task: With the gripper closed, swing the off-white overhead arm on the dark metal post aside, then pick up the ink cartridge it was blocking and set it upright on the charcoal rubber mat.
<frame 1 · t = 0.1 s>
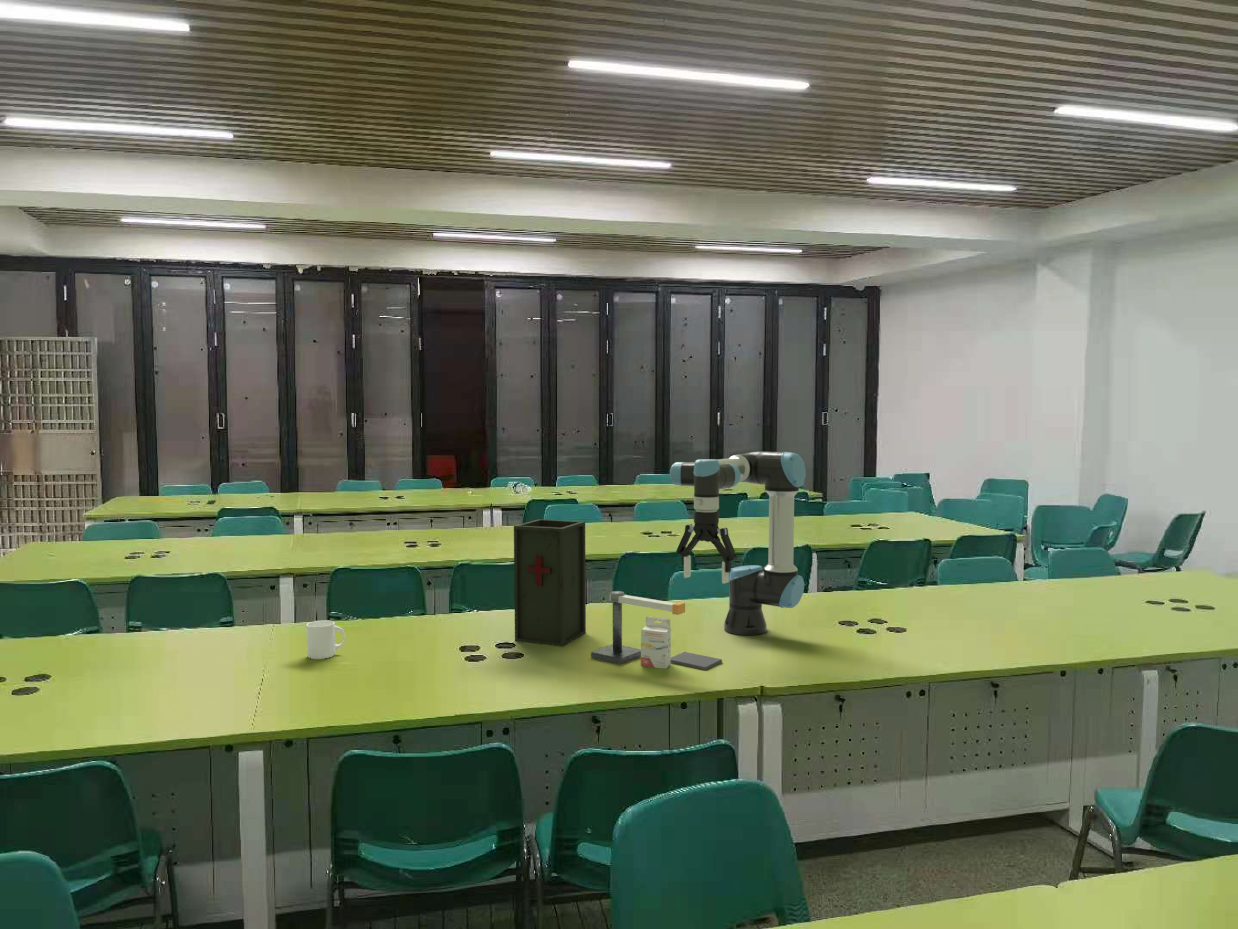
hand: (706, 580, 261), 28 cm above the table, fingers open, 13 cm apart
ink cartridge box: (655, 666, 268), on the table
arm post: (617, 657, 277), on the table
mug: (326, 656, 280), on the table
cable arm: (645, 602, 269), point 19 cm above the table, hinge at 0.0°
rubber mat: (694, 662, 271), on the table
first aid box: (550, 637, 301), on the table
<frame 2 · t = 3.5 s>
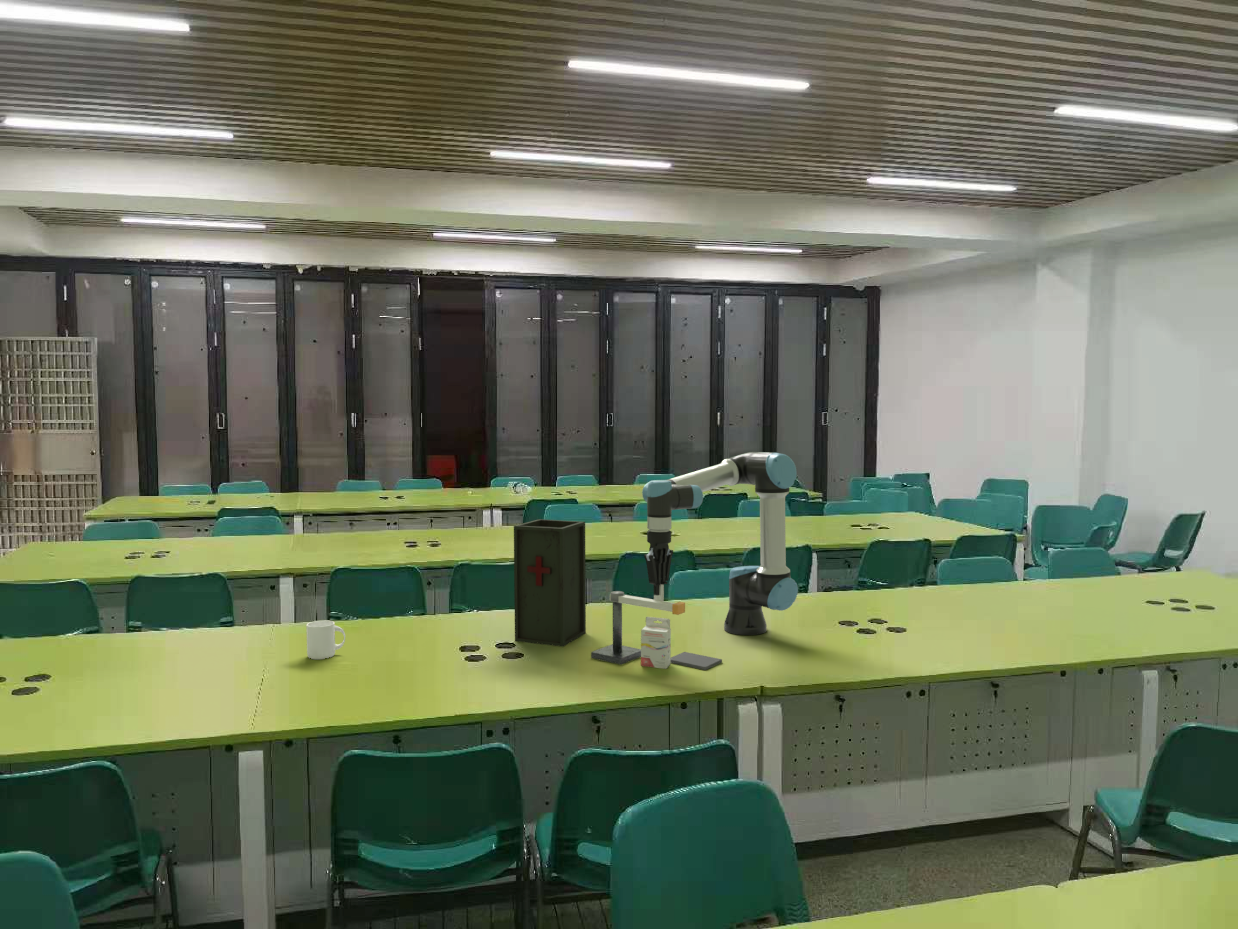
hand: (658, 604, 269), 19 cm above the table, fingers closed
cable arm: (645, 602, 269), point 19 cm above the table, hinge at 0.0°, touching gripper
everything else where it was.
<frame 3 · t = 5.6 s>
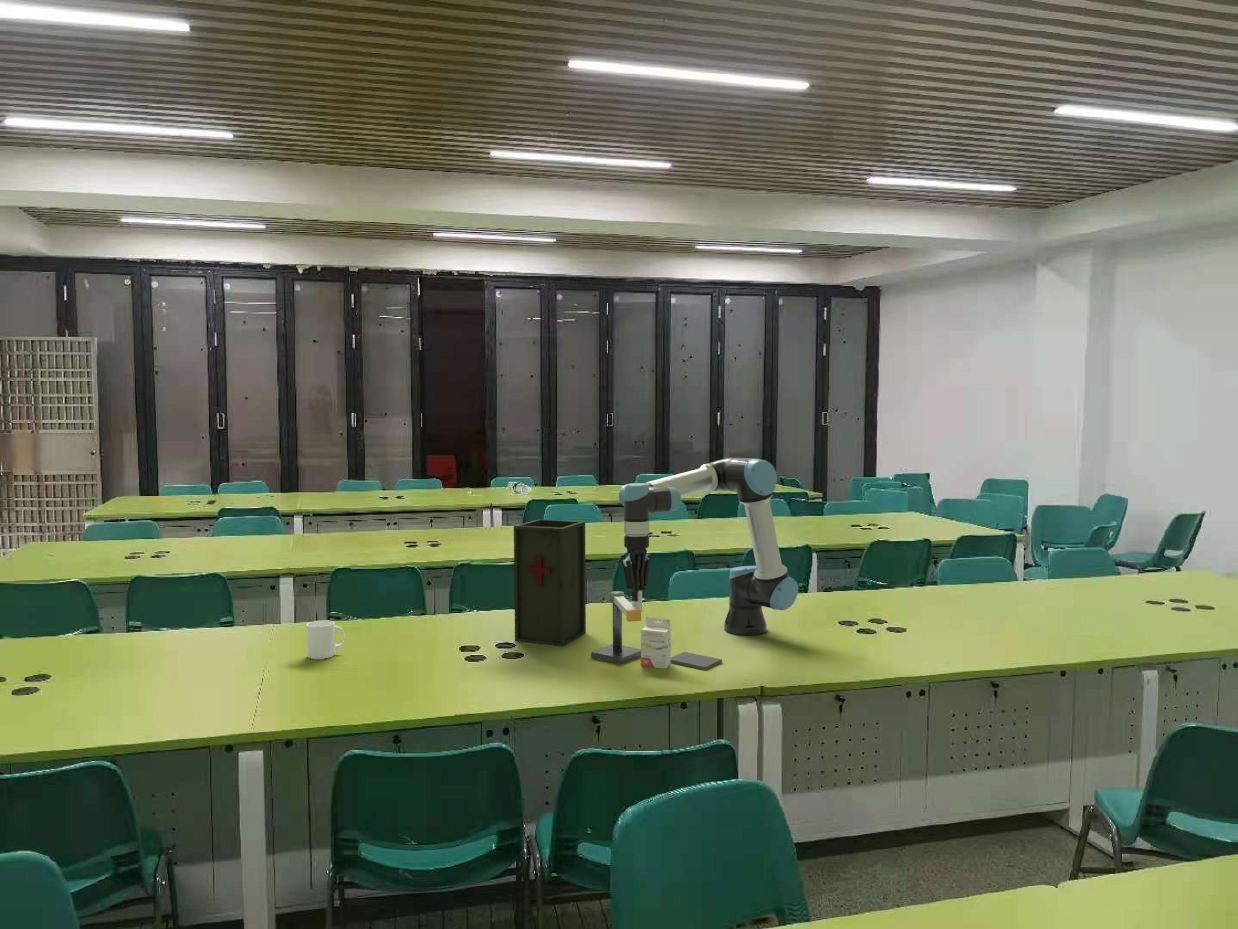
hand: (637, 611, 262), 18 cm above the table, fingers closed
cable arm: (624, 605, 265), point 19 cm above the table, hinge at 41.0°, touching gripper
everything else where it was.
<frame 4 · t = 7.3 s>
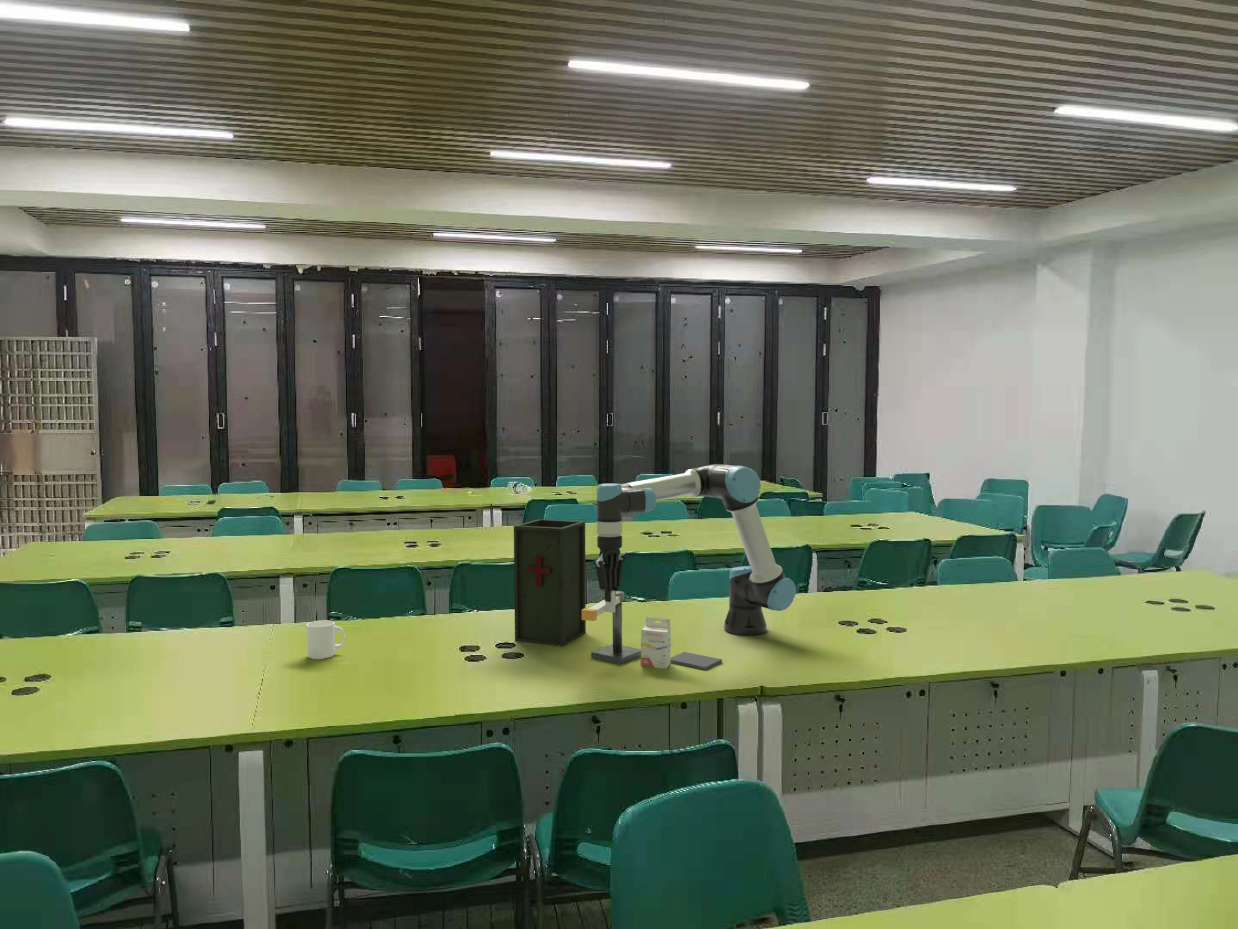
hand: (610, 611, 262), 18 cm above the table, fingers closed
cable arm: (604, 605, 265), point 19 cm above the table, hinge at 73.6°, touching gripper
everything else where it was.
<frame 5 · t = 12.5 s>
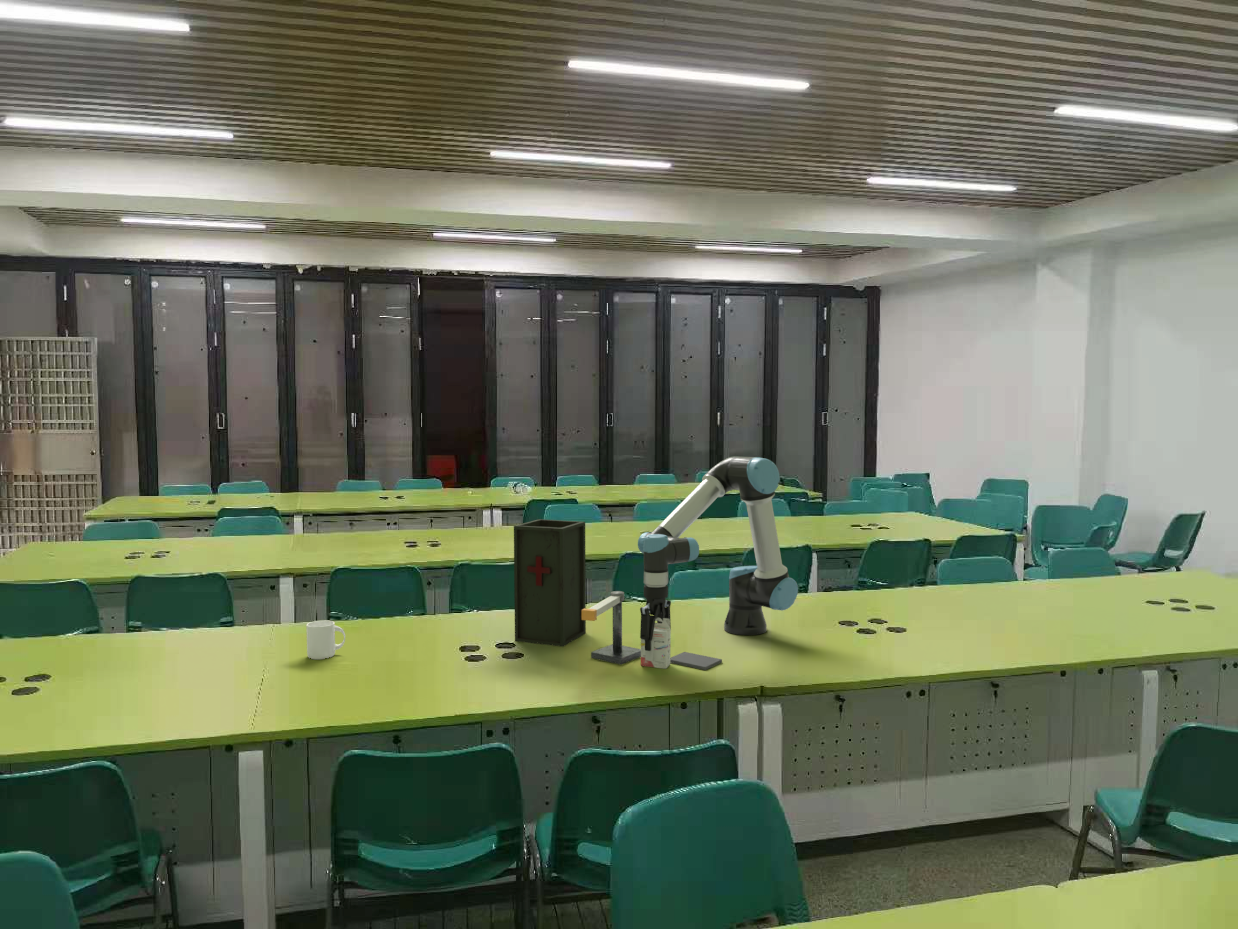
hand: (655, 657, 268), 2 cm above the table, fingers closed on ink cartridge box, 6 cm apart
ink cartridge box: (655, 666, 268), on the table, touching gripper
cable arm: (604, 605, 265), point 19 cm above the table, hinge at 73.6°
everything else where it was.
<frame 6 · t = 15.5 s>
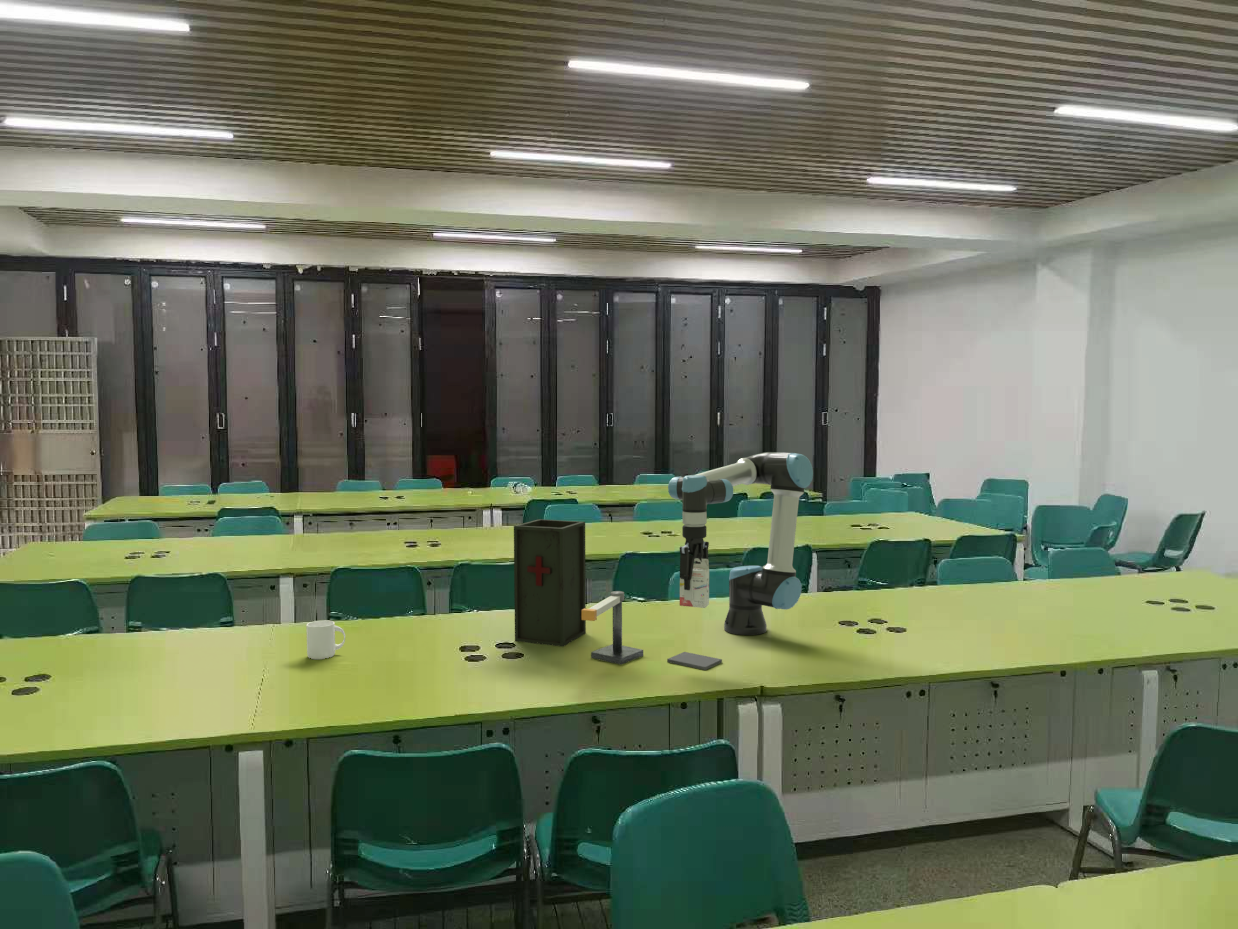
hand: (694, 597, 270), 21 cm above the table, fingers closed on ink cartridge box, 6 cm apart
ink cartridge box: (694, 606, 270), point 18 cm above the table, touching gripper
everything else where it was.
when the fingers open (5 cm above the table, at t = 18.8 s): ink cartridge box drops 1 cm, resting on rubber mat.
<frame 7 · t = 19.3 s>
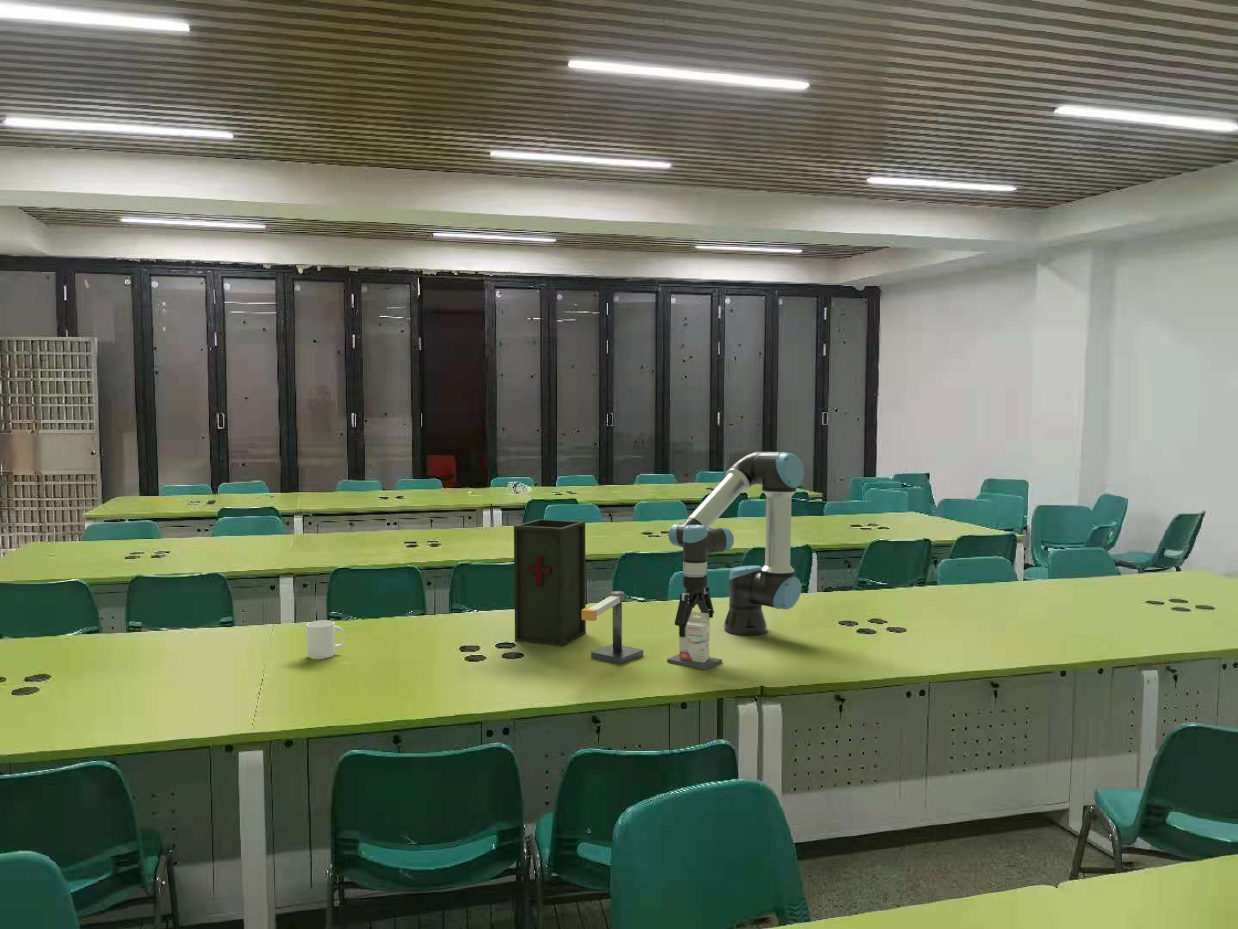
hand: (694, 642, 271), 6 cm above the table, fingers open, 12 cm apart
ink cartridge box: (694, 660, 271), point 1 cm above the table, touching rubber mat
everything else where it was.
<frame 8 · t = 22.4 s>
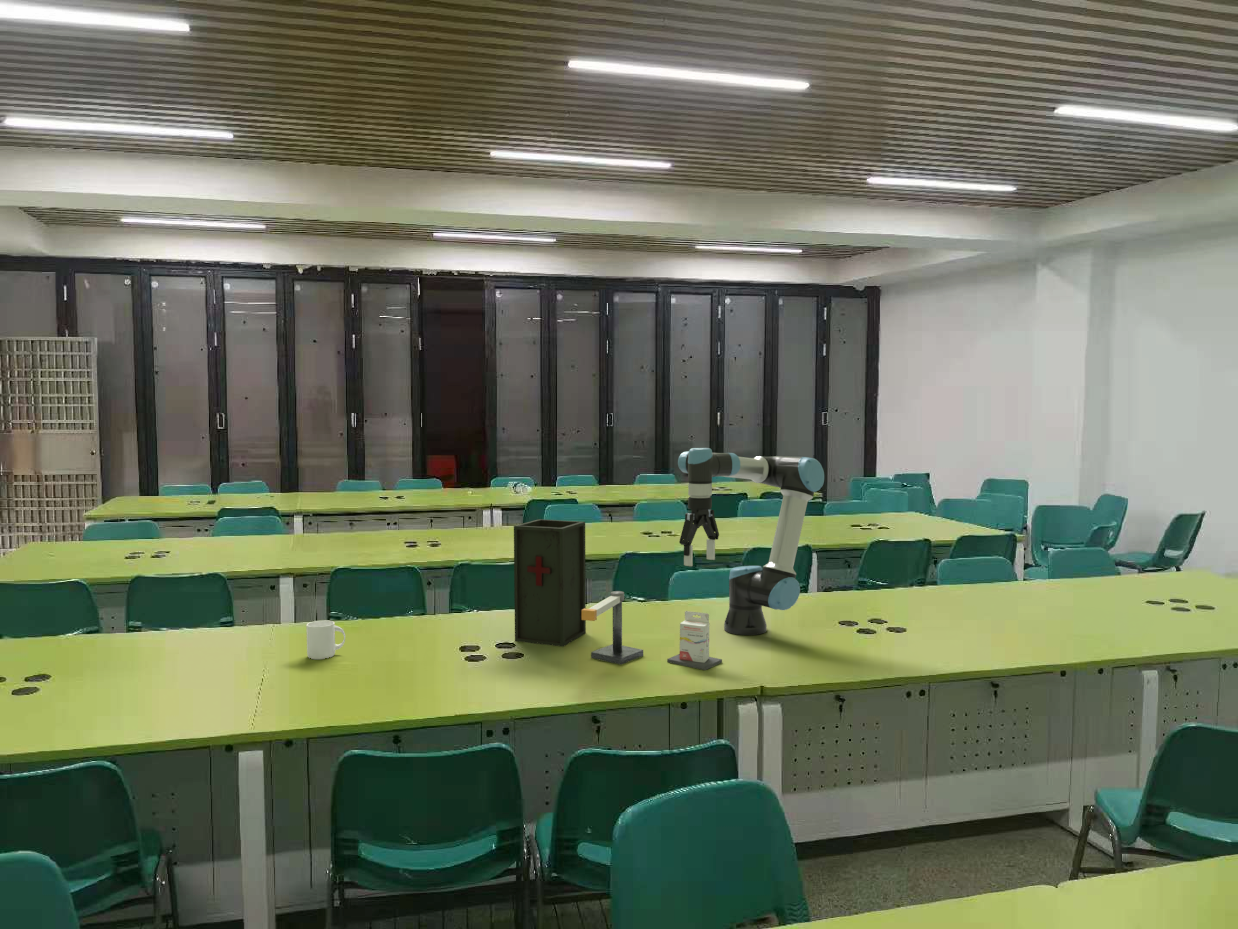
hand: (699, 562, 275), 31 cm above the table, fingers open, 13 cm apart
nothing on the table moved.
at the end: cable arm at +74° (first picture: +0°); ink cartridge box inside the target area on the rubber mat (0.3 cm from its centre), point 0.8 cm above the rubber mat's base; ink cartridge box tilted 0° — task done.
